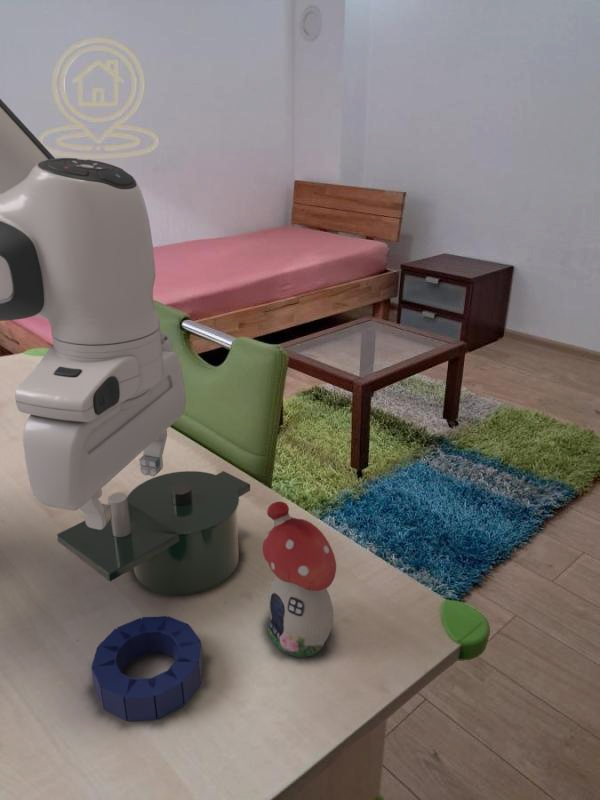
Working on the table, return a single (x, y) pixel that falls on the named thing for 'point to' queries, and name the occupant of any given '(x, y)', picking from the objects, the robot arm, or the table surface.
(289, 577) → the decorative ornament
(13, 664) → the table surface
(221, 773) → the table surface
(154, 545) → the pot
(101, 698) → the tape roll
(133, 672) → the table surface
